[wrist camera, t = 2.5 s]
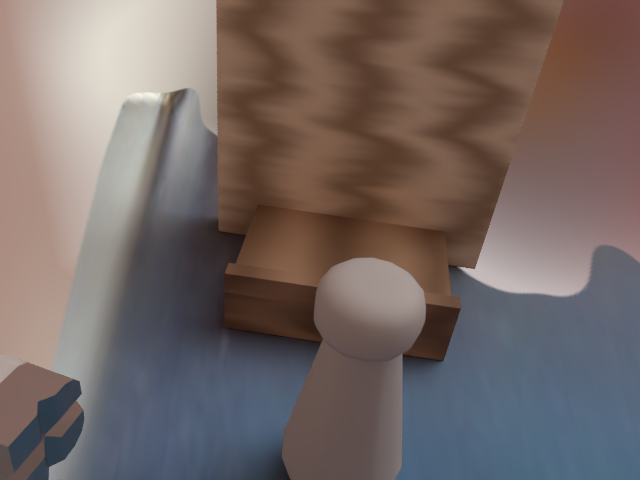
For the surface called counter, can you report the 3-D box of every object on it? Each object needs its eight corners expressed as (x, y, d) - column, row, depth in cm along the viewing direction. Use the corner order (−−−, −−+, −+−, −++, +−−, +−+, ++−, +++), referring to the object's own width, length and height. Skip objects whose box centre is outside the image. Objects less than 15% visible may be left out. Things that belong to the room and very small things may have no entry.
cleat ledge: (435, 263, 44) (449, 214, 42) (443, 360, 36) (460, 308, 34) (256, 236, 45) (258, 187, 42) (224, 327, 37) (224, 273, 34)
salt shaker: (415, 477, 30) (481, 287, 22) (343, 559, 26) (393, 367, 18) (329, 408, 33) (362, 219, 25) (255, 474, 29) (265, 277, 21)
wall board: (472, 253, 46) (557, -14, 34) (474, 268, 44) (565, -6, 32) (224, 216, 47) (224, -57, 35) (218, 231, 45) (216, -51, 33)
